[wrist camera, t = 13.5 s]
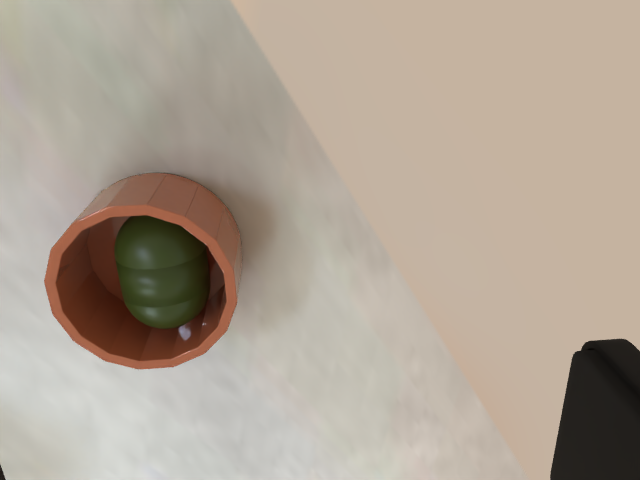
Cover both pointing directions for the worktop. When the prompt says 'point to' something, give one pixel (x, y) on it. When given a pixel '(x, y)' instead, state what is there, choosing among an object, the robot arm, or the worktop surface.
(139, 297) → the avocado
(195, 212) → the terracotta bowl
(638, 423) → the robot arm
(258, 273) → the worktop surface
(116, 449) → the worktop surface
